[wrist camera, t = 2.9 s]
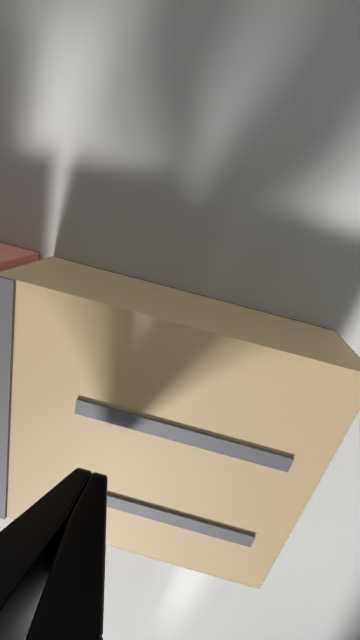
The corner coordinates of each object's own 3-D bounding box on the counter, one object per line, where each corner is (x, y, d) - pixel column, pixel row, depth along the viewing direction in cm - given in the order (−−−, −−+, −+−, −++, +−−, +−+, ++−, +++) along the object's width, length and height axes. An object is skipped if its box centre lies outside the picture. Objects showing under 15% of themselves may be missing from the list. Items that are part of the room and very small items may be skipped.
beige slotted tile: (334, 330, 10) (379, 378, 7) (250, 510, 14) (259, 592, 11) (52, 256, 11) (-10, 274, 8) (36, 450, 14) (-12, 514, 11)
